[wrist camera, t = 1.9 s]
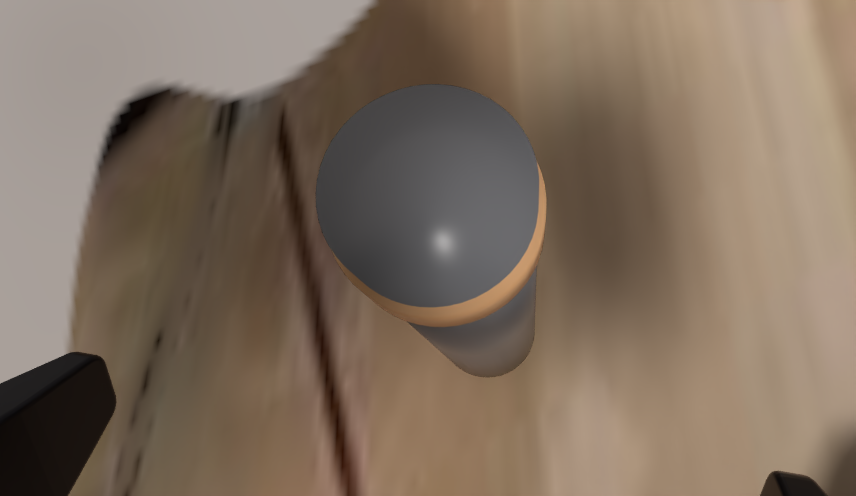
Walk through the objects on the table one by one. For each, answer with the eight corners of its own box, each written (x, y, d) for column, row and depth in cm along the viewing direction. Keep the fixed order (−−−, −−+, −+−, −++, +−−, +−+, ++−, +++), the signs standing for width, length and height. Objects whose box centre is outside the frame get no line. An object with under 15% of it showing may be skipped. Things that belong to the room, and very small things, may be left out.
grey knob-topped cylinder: (508, 399, 19) (473, 350, 7) (419, 349, 20) (263, 236, 8) (555, 308, 19) (590, 132, 8) (466, 263, 20) (382, 45, 9)
